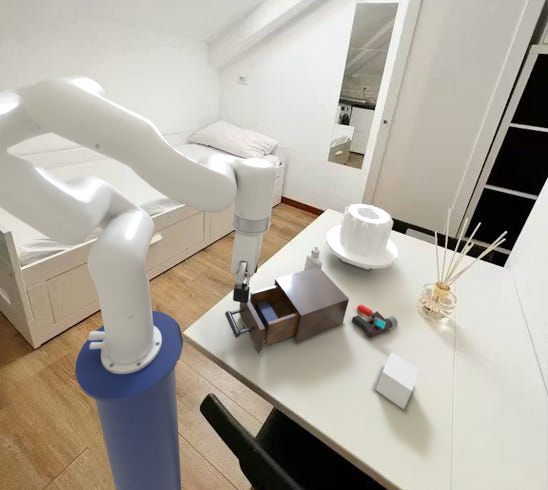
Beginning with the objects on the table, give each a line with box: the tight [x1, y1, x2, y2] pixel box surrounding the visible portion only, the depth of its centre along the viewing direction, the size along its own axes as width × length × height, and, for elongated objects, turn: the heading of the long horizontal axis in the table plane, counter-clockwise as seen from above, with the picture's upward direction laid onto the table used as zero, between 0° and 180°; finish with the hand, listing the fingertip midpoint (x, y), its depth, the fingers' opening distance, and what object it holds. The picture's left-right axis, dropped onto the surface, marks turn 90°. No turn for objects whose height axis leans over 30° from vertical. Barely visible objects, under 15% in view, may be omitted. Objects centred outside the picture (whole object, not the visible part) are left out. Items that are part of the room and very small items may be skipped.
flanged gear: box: [325, 203, 399, 271], centre depth 103 cm, size 25×25×19 cm
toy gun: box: [351, 304, 399, 339], centre depth 80 cm, size 10×12×5 cm
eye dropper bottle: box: [303, 245, 323, 271], centre depth 93 cm, size 4×6×12 cm
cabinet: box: [273, 267, 350, 343], centre depth 79 cm, size 15×14×9 cm
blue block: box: [256, 300, 278, 331], centre depth 74 cm, size 8×3×3 cm, turn 27°
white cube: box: [375, 351, 420, 410], centre depth 63 cm, size 6×6×6 cm
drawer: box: [224, 285, 299, 353], centre depth 73 cm, size 18×12×7 cm
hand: (245, 285), depth 66 cm, fingers open, 9 cm apart
